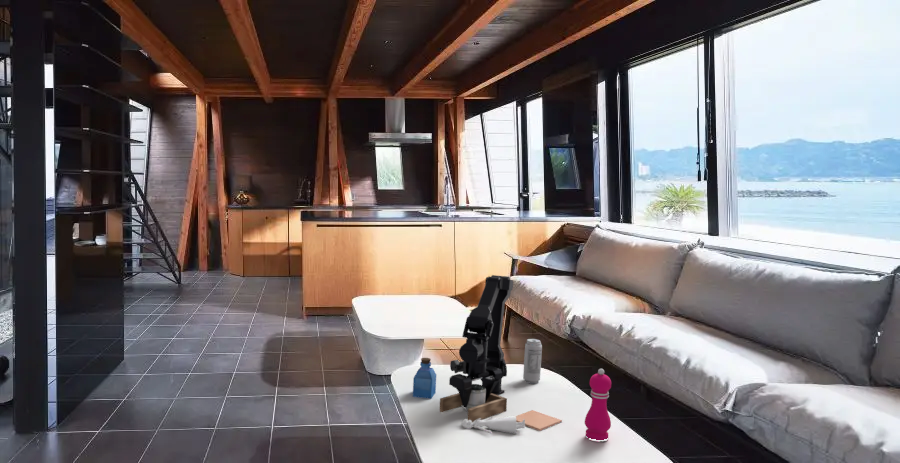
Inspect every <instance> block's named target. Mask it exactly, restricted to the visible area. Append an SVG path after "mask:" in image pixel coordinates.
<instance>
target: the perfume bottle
mask: <svg viewBox="0 0 900 463" xmlns="http://www.w3.org/2000/svg"><path fill="white" fill-rule="evenodd" d="M420 360H421V361H420V363H419V364H420V367H419V369H418V370H417V371H416V373H415V375H414V377H413V383H412V397H413V398H419V399H420V398H421V399H430V400H431V399H432V398H433V397H434V396H435V394H436V389H437V373H436V372H435V369H434V368H433V367H431V366H432V362H431V358H429V357H421V358H420Z"/></svg>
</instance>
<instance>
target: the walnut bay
mask: <svg viewBox="0 0 900 463" xmlns="http://www.w3.org/2000/svg"><path fill="white" fill-rule="evenodd" d="M507 405H508V398H506V397H504V396H500V395H499V394H497V395H495V394H492V393H491V394H490V396H489V398H488V399H487V401H486V402H485V404H482V405H479V406H476V407H473V408H469V409H468V412H467V420H469V419H470V420H471V421H472V422H474V421H475V420H476V419H478V420H485V419H488V418H490V417H493V416H496V415H499V414H502V413H505V412H507ZM461 407H463V404H462V401H461V398H460V394H459V392H458V393H455V394H451V395H448V396H444V397H440V398H439V412H440V413H444V412H448V411H451V410H454V409H457V408H461ZM479 418H481V419H479ZM476 421H477V420H476ZM476 421H475V422H476Z"/></svg>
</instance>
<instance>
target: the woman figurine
mask: <svg viewBox="0 0 900 463" xmlns="http://www.w3.org/2000/svg"><path fill="white" fill-rule="evenodd" d="M516 416H517V415H513V416H512V415H511V416H504V417H496V418H493V416H490V417H488V418H485V419H482V420H478V419H476V420H477V421H476V420H475V421H476V422H475V421H474V422H472V421H471V420H470V419H469V420H468V419H467V418H465V419H463V420H462V422H461V424H462V427H463V428H464V429H467V430H470V429H472V428H474V429H475V430H477V429H478V430H481V431H484V432H487V433H489V434H492V433H493V432H492V431H495V432H496V431H497V432H499V433H500V432H501V433H506V434H507V433H508V434H517V430H520V429H525V428H526V426H525V419H524V420H523V421H522V422H516ZM479 419H481V418H479ZM484 427H486V428H487V429H486V428H484Z"/></svg>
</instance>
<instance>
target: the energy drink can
mask: <svg viewBox="0 0 900 463" xmlns="http://www.w3.org/2000/svg"><path fill="white" fill-rule="evenodd" d="M542 351H543V345H542V342H541V340H540V339H536V338H528V339H526V342H525V344H524V355H523V356H524V359H523V376H522V377H523V380H524V382H525V383H526V384H527V383H528V384H538V383H539V381H540V380H541V371H542V368H541V367H542V366H541V365H542V354H543V353H542Z"/></svg>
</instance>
